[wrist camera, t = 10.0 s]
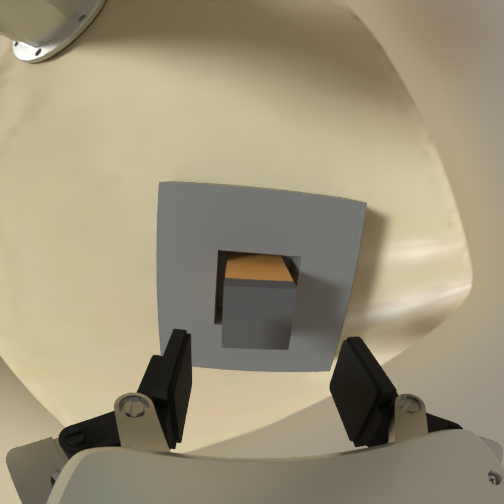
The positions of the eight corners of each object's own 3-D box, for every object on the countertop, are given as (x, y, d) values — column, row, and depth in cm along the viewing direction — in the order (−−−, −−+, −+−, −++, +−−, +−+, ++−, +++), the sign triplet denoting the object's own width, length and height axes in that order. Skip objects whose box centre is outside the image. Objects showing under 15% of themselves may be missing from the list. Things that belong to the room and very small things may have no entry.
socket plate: (171, 181, 20) (159, 182, 17) (348, 198, 21) (366, 202, 18) (170, 340, 24) (161, 362, 21) (319, 348, 25) (329, 371, 22)
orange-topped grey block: (228, 251, 22) (223, 285, 15) (280, 254, 22) (297, 289, 15) (226, 299, 23) (221, 347, 16) (274, 301, 23) (288, 349, 16)
